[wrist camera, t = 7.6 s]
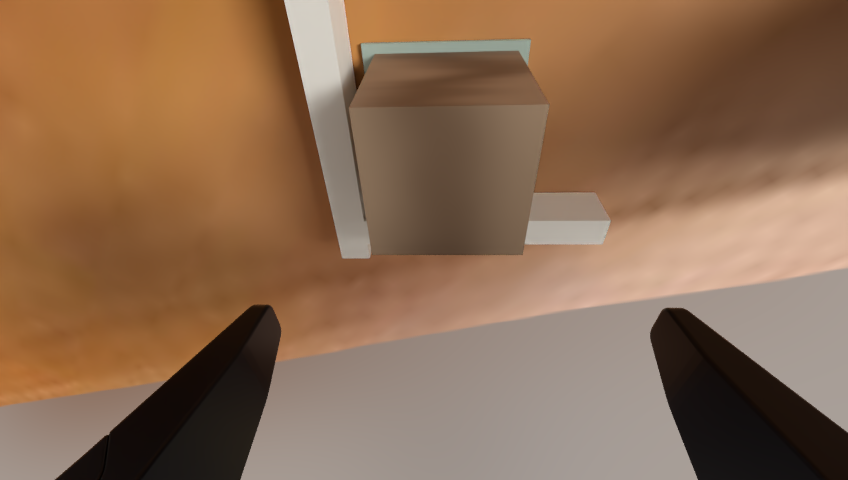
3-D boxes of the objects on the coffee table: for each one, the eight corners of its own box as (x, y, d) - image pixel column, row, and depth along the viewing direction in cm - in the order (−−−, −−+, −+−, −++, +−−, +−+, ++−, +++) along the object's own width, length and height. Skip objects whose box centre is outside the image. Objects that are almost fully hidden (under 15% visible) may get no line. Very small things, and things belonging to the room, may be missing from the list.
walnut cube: (518, 50, 16) (549, 104, 11) (503, 176, 20) (522, 254, 15) (375, 53, 16) (348, 107, 12) (387, 177, 20) (371, 254, 16)
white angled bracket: (681, -95, 13) (721, -96, 11) (583, 229, 22) (597, 258, 20) (290, -79, 14) (266, -78, 12) (350, 229, 23) (342, 258, 21)
